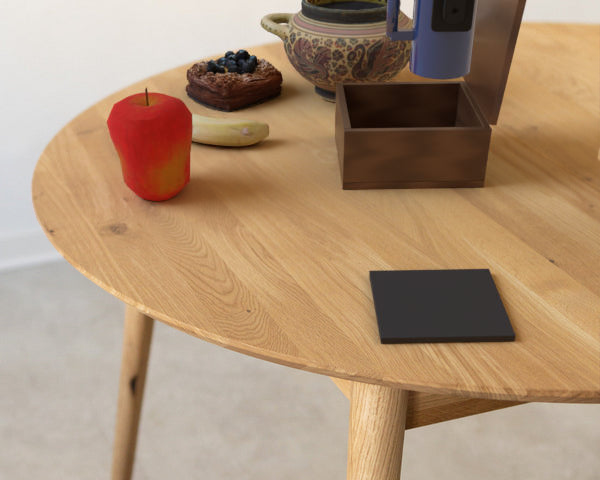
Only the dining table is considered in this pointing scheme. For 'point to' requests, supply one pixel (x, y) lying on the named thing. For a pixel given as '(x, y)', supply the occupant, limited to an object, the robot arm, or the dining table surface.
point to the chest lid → (493, 53)
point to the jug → (432, 43)
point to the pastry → (233, 82)
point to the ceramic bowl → (340, 42)
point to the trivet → (439, 306)
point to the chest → (410, 135)
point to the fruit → (227, 131)
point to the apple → (152, 143)
